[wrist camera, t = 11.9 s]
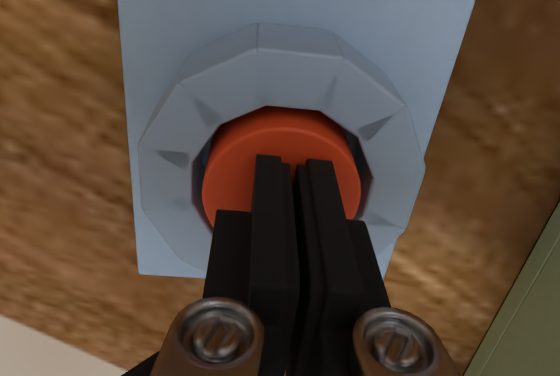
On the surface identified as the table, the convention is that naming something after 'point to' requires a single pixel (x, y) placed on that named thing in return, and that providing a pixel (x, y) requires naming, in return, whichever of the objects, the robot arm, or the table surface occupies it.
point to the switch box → (279, 101)
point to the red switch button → (278, 142)
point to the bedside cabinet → (527, 317)
